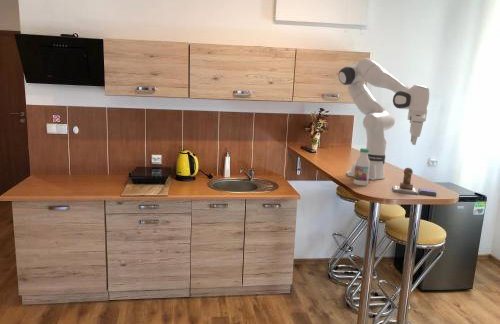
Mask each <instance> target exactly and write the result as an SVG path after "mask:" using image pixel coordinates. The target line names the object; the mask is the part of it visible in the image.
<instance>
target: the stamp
mask: <svg viewBox="0 0 500 324" xmlns="http://www.w3.org/2000/svg"><path fill="white" fill-rule="evenodd" d="M413 172H414V171H413V169H412V168H411V167H406V168H404V169H403V180H402V181H400V182H399V186H400V189H407V190H412V188H414V183H413V182H411V181H412V175H413Z"/></svg>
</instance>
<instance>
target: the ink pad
mask: <svg viewBox="0 0 500 324" xmlns="http://www.w3.org/2000/svg"><path fill="white" fill-rule="evenodd" d="M417 191H418V195H420V196H421V195H422V196H423V195H424V196H429V197H437V191H436V190H434V189H431V188H430V189H429V188H422V187H421V188H418V189H417Z"/></svg>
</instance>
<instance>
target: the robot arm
mask: <svg viewBox="0 0 500 324" xmlns="http://www.w3.org/2000/svg"><path fill="white" fill-rule="evenodd" d="M338 81H339V82H340V83H341V84H342V85H344V86H347V91H348V94H349V96H350V98H351V100H352V101H353V103H354V104H355V106H356V107H357V109H358V110H359V112H360V113H362V114H364V117H363V120H362V125H363V127H364V129H365V133H366V148H365V149H369V153H368V158H369V161H370V171H369V179H368V180H374V181H375V180H383V179H385V178H386V177H385V176H386V175H385V162H386V149H387V148H386V147H387V141H386V139H385V132H384V131H388V130H390V129H392V127H393V126H394V125H395V118H394V116H393V114H391V113H389V112H388V111H387V110H386V109H385V107H383V106H382V105H381V104H380V103H379V102H378V100H376V98H375V97H374V95H373V94H372V92H371V91H370V89H369V88H368V87H367V86H366V82H367V84H369V85H371V86H373V87H375V88H381V89H386V90H390V91H391V92H393V93H394V95H393V97H392V105H393V106H394V108H396V109H399V110H408V113H407V120H408V121H409V124H410V127H409V133H410V143H411V145H413V146H416V145H417V140H418V138H419V137H420V136H421V133H422V130H423V125H424V123H425V122H426V121H427V116H428V115H427V114H428V106H429V101H430V88H429V87H428V86H425V85H422V84H421V85H420V84H413V86H411V87H408V86H407V85H406V84H404V83H403V82H402V81H400V80H399V79H397V78H395V76H393V75H392V74H391V73H389V72H388V71H387V69H385V68H383V67H382V65H380V64H379V63H377V61H375V60H373V59H371V58H369V57H363V58H361V59H360V60H359V61H358V62H354V63H352V64H350V65H348V66H344V67H343V68H341V69H340V70H339V71H338ZM393 128H394V127H393ZM356 162H357V161H355V162H353V163H352V164H351V167H350V170H347V171H346V175H347V176H349V177H353V178H354V175H355V167H356Z"/></svg>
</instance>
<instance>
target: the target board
mask: <svg viewBox="0 0 500 324" xmlns="http://www.w3.org/2000/svg"><path fill="white" fill-rule="evenodd" d="M392 192H393V193H401V194H408V195H416V196H418V195H419V192H418V189H417V188H416V187H413V188H412V190H407V189H400V185H392Z"/></svg>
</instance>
